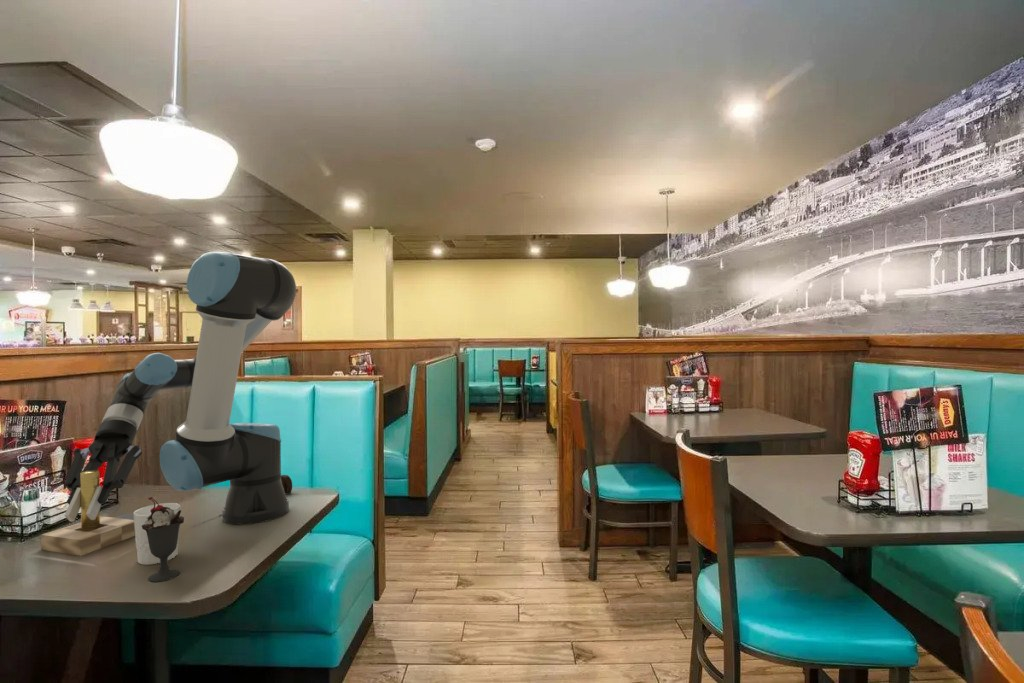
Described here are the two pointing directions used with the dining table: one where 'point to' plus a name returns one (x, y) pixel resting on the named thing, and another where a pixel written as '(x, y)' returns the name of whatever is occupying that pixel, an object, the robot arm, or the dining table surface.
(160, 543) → the sundae
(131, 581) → the dining table surface
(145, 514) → the white cup
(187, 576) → the dining table surface
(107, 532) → the oak socket block
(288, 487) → the bolt
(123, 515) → the rubber mat
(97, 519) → the brass pin
